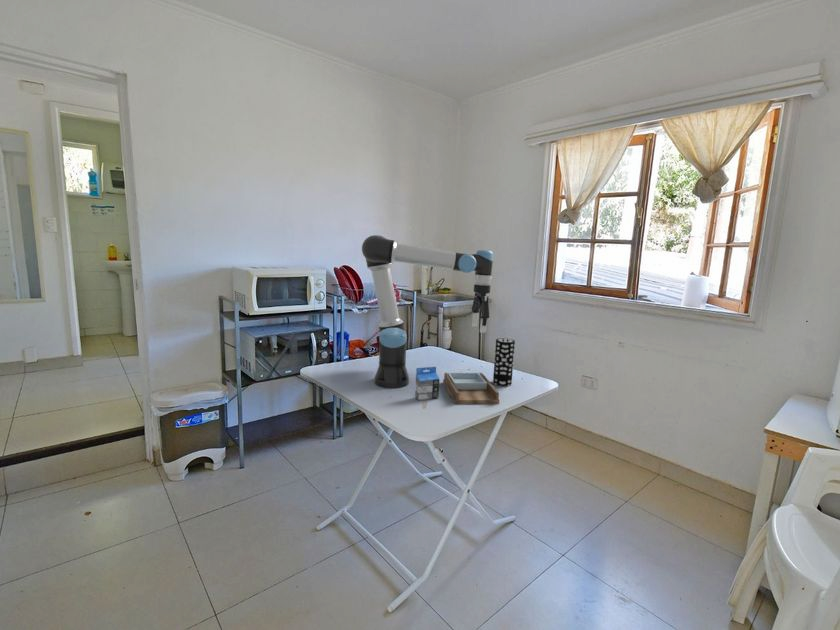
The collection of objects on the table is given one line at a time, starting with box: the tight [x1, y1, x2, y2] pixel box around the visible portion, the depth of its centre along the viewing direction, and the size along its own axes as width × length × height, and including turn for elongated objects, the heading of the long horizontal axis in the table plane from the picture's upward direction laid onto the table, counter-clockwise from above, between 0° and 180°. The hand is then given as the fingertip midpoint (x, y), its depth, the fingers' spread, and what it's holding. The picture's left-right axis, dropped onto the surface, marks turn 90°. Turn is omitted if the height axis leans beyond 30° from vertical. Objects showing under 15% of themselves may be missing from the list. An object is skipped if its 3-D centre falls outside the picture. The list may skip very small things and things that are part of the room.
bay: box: [442, 372, 500, 405], centre depth 172 cm, size 18×25×4 cm
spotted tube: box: [492, 337, 516, 387], centre depth 184 cm, size 8×8×20 cm
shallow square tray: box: [447, 372, 487, 390], centre depth 177 cm, size 14×14×3 cm
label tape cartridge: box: [414, 366, 440, 401], centre depth 163 cm, size 9×4×12 cm, turn 112°
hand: (478, 329), depth 192 cm, fingers open, 13 cm apart
